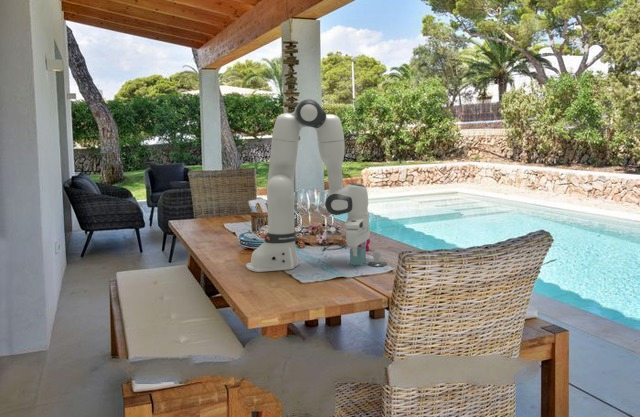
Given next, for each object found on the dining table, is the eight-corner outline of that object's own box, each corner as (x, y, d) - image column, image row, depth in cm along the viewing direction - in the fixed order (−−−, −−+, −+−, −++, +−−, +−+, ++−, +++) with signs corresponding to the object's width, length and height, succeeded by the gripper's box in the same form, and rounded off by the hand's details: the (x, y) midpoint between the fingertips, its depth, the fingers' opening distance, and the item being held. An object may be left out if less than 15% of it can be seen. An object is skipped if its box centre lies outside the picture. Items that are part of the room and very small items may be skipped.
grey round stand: (383, 267, 244) (383, 254, 243) (365, 266, 247) (365, 252, 247) (389, 263, 251) (389, 250, 251) (371, 261, 255) (371, 249, 254)
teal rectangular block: (361, 265, 249) (361, 249, 248) (350, 264, 251) (349, 249, 250) (365, 262, 253) (365, 247, 252) (354, 261, 255) (354, 246, 255)
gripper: (359, 217, 260) (360, 248, 262) (342, 225, 242) (344, 258, 244) (373, 217, 258) (374, 248, 260) (357, 225, 239) (358, 259, 241)
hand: (359, 253), depth 252 cm, fingers open, 8 cm apart
